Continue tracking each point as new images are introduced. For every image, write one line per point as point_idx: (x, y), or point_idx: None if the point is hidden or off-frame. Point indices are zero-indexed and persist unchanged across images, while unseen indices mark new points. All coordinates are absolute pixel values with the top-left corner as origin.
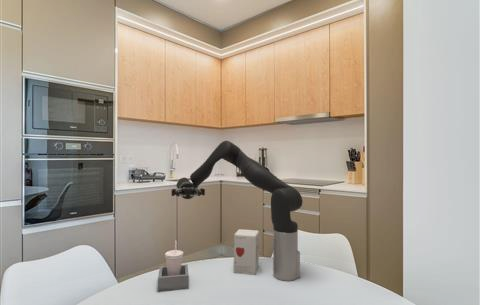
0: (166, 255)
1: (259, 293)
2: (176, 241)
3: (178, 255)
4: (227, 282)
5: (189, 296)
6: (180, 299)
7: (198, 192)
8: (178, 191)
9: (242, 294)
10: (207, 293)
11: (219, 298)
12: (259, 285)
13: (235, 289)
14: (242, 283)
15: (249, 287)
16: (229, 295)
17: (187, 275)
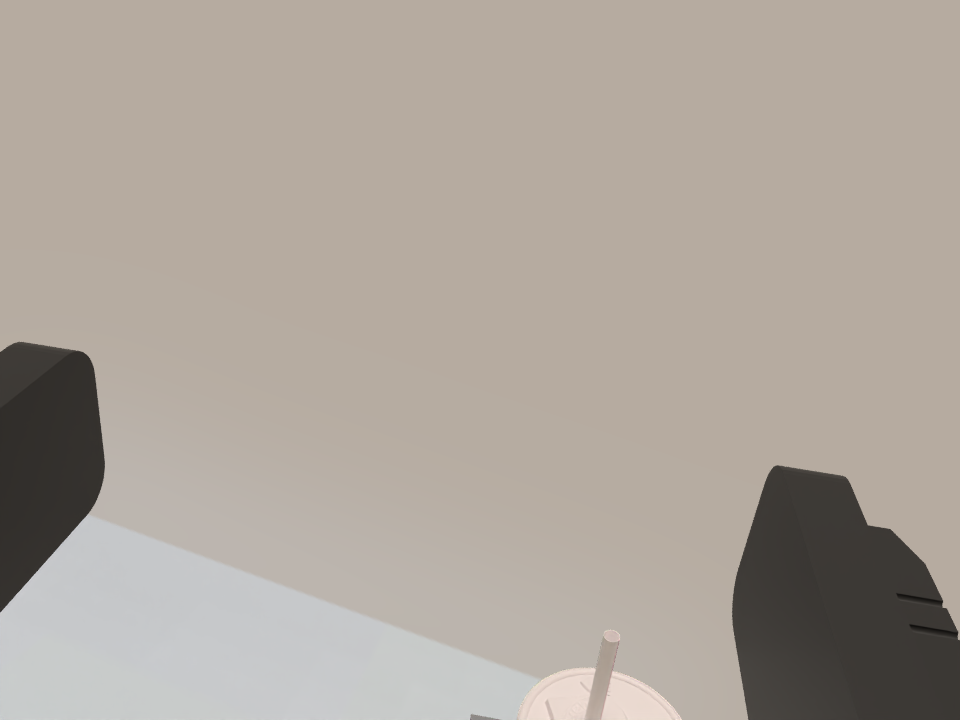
0: (675, 711)
1: (92, 579)
2: (605, 635)
3: (568, 670)
4: None
5: (475, 694)
6: (531, 685)
7: (88, 390)
8: (808, 471)
9: (182, 604)
10: (361, 684)
11: (322, 617)
12: (3, 644)
13: (178, 660)
14: (74, 707)
15: (81, 648)
16: (255, 621)
17: (480, 716)
